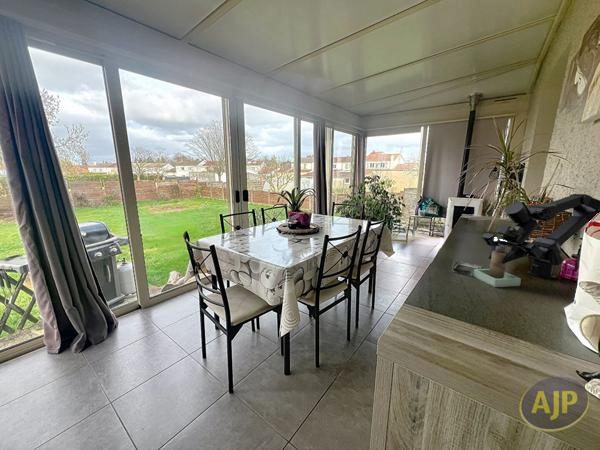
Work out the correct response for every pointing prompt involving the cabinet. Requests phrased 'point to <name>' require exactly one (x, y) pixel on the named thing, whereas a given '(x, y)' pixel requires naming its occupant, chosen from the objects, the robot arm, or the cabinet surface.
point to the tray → (495, 282)
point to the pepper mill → (497, 263)
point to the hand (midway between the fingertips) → (495, 260)
